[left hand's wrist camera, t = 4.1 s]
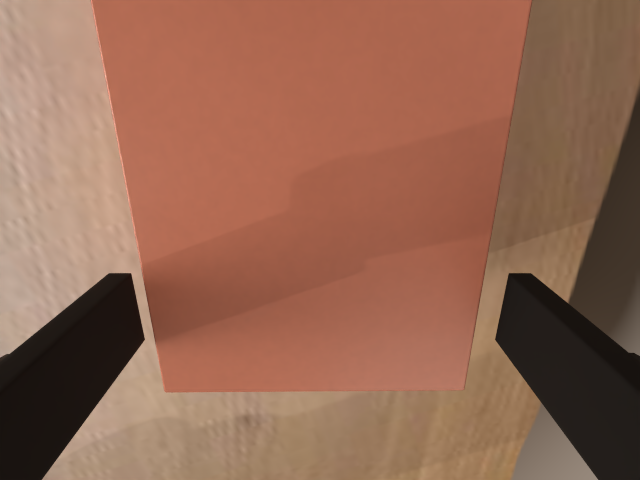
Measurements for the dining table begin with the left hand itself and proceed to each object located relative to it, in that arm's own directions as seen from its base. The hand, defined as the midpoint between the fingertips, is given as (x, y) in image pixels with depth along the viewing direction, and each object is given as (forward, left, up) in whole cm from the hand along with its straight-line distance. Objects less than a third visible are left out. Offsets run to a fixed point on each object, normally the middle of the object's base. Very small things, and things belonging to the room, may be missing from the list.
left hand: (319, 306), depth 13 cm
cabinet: (+5, +1, -9) cm, 10 cm away
